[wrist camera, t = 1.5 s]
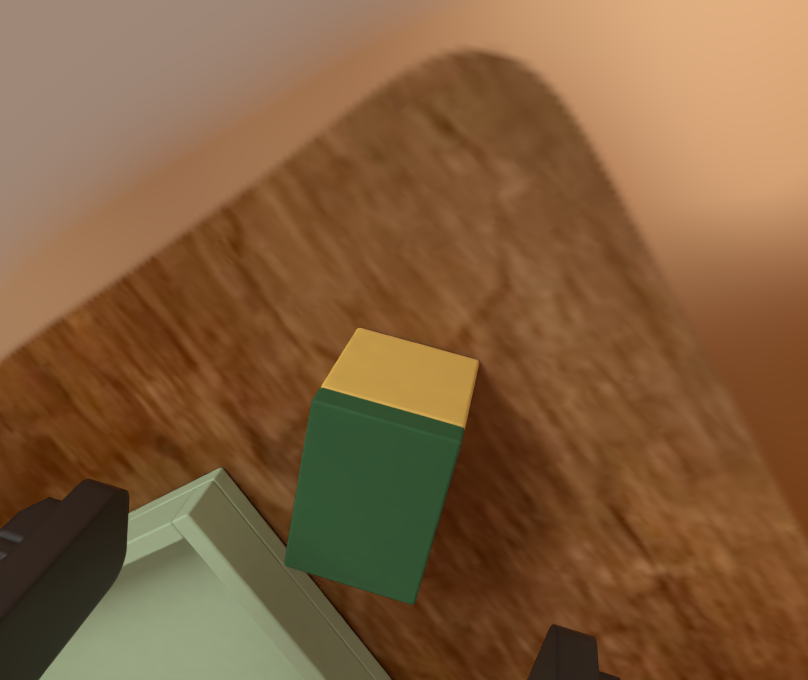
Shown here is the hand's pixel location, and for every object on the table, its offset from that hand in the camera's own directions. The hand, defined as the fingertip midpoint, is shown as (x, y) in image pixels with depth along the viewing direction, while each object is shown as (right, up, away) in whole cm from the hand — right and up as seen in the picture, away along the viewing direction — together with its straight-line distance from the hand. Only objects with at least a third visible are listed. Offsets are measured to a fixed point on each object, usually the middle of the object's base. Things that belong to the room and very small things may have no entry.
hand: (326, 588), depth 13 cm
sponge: (+1, +3, +5) cm, 6 cm away
